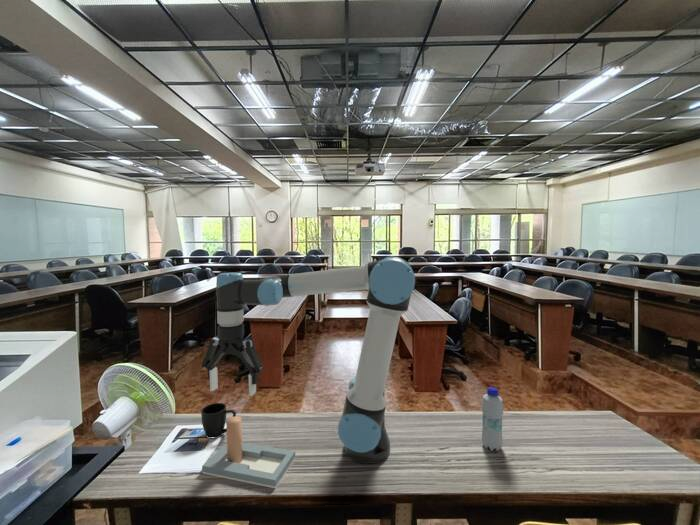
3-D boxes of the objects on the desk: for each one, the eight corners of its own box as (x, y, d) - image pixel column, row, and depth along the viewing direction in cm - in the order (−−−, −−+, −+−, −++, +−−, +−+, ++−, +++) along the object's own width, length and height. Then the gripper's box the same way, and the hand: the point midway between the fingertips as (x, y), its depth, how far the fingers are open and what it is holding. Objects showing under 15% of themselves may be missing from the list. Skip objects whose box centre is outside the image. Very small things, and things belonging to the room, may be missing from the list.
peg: (245, 457, 102) (244, 417, 101) (236, 466, 97) (235, 424, 97) (233, 455, 103) (232, 415, 102) (224, 464, 98) (223, 422, 98)
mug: (230, 442, 111) (229, 415, 110) (197, 440, 112) (196, 413, 111) (240, 428, 119) (240, 403, 118) (210, 427, 120) (209, 402, 120)
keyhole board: (295, 458, 102) (295, 451, 102) (275, 488, 89) (275, 480, 89) (229, 447, 108) (229, 440, 108) (202, 473, 95) (202, 465, 95)
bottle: (492, 438, 111) (492, 382, 110) (507, 450, 105) (508, 390, 104) (476, 443, 109) (477, 385, 108) (491, 455, 102) (492, 394, 101)
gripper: (273, 322, 98) (275, 390, 99) (204, 318, 105) (206, 382, 106) (261, 328, 91) (263, 402, 92) (187, 324, 97) (190, 392, 98)
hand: (233, 391), depth 99 cm, fingers open, 13 cm apart
